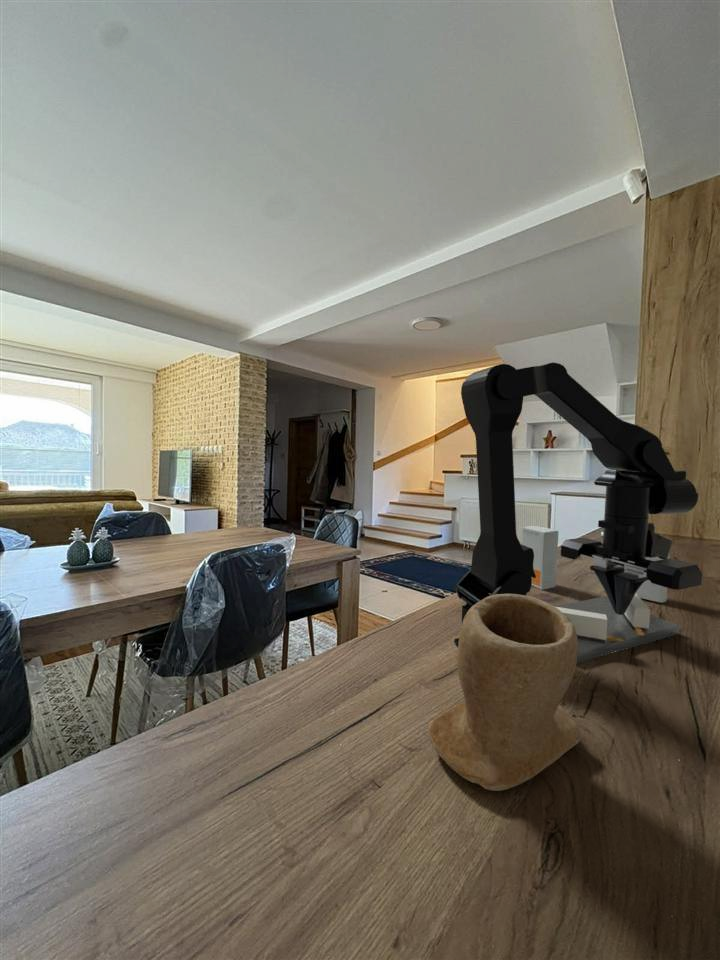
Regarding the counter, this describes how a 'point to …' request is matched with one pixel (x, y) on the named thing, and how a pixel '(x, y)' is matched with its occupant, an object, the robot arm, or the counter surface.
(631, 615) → the off-white long bar
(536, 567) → the skincare box
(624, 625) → the levelling base
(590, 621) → the white rectangular block
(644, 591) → the photo printer
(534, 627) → the stone cup
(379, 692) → the counter surface
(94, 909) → the counter surface
